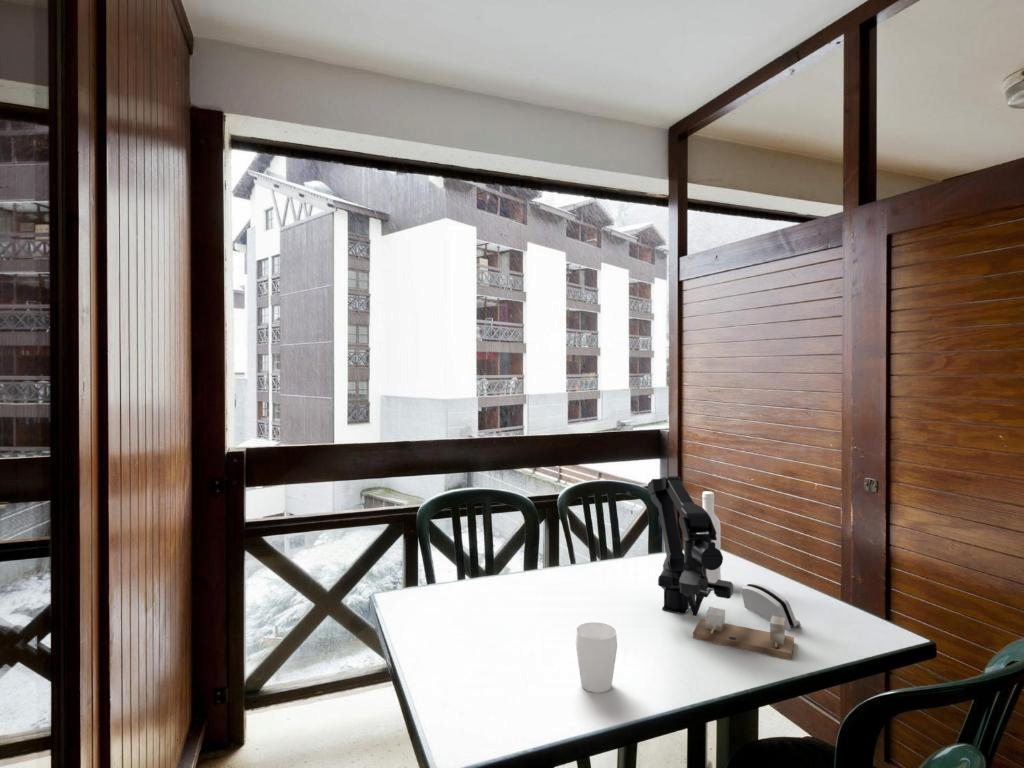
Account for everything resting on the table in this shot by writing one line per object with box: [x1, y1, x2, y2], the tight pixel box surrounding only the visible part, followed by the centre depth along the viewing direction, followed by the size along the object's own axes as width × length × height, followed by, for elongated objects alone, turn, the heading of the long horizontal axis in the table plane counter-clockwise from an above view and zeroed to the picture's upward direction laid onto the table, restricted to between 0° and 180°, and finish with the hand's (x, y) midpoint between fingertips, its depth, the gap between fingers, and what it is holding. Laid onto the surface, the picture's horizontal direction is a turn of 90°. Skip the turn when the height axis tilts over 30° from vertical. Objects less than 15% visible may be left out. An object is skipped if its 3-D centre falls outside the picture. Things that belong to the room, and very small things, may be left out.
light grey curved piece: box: [740, 582, 802, 631], centre depth 160 cm, size 17×5×10 cm, turn 18°
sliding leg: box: [705, 606, 726, 634], centre depth 149 cm, size 4×8×4 cm, turn 150°
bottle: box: [697, 490, 722, 583], centre depth 188 cm, size 8×8×30 cm
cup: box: [575, 621, 618, 694], centre depth 125 cm, size 9×9×12 cm
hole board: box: [692, 616, 795, 660], centre depth 146 cm, size 23×10×6 cm, turn 60°
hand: (695, 615), depth 153 cm, fingers closed
